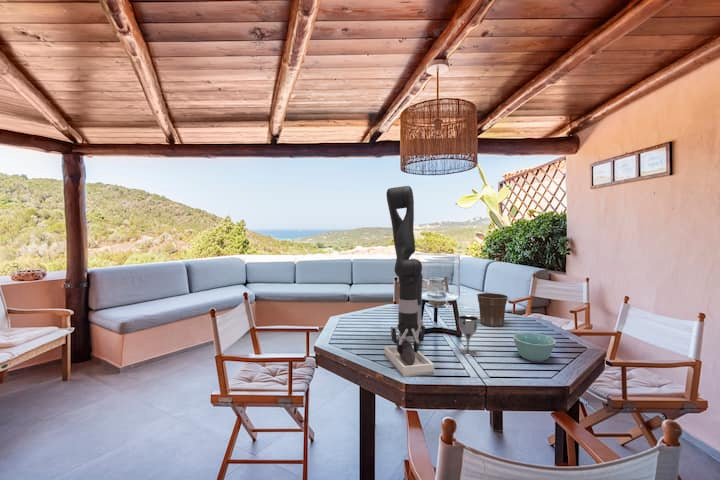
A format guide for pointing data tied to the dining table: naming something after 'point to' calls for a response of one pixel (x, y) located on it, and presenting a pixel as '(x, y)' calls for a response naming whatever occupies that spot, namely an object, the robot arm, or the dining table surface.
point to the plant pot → (492, 309)
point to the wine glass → (468, 331)
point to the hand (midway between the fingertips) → (407, 352)
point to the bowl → (534, 346)
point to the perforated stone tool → (407, 352)
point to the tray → (418, 368)
